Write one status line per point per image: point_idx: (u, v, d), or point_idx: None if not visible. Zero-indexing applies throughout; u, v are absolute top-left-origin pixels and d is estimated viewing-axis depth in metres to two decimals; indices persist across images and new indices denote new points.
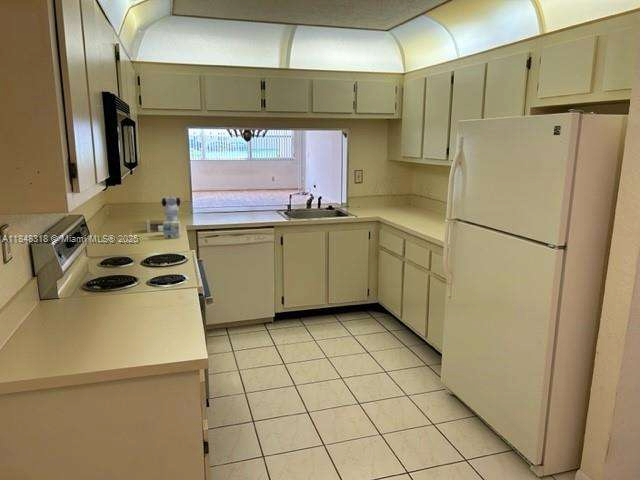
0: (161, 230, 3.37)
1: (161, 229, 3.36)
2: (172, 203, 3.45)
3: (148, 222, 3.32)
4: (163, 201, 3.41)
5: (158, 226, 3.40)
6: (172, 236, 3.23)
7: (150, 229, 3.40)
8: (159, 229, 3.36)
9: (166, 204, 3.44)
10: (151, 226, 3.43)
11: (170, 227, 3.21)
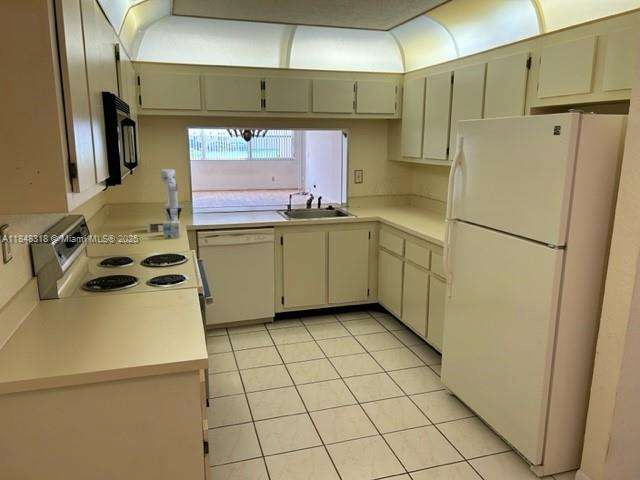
0: (161, 230, 3.37)
1: (161, 229, 3.36)
2: None
3: (148, 222, 3.32)
4: None
5: (158, 226, 3.40)
6: (172, 236, 3.23)
7: (150, 229, 3.40)
8: (159, 229, 3.36)
9: None
10: (151, 226, 3.43)
11: (170, 227, 3.21)
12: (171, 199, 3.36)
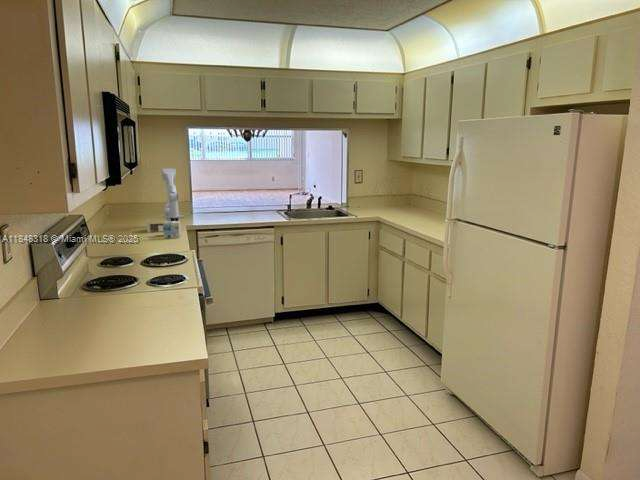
0: (161, 230, 3.37)
1: (161, 229, 3.36)
2: None
3: (148, 222, 3.32)
4: None
5: (158, 226, 3.40)
6: (172, 236, 3.23)
7: (150, 229, 3.40)
8: (159, 229, 3.36)
9: None
10: (151, 226, 3.43)
11: (170, 227, 3.21)
12: (172, 209, 3.37)
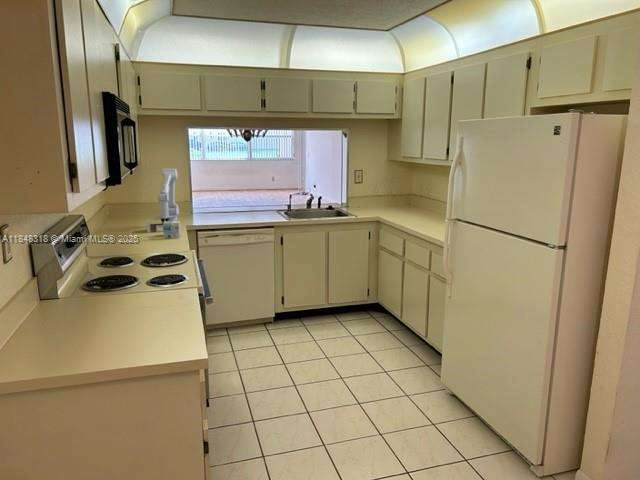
0: (160, 230, 3.36)
1: (159, 229, 3.36)
2: None
3: (148, 222, 3.32)
4: None
5: (156, 226, 3.39)
6: (172, 236, 3.23)
7: (150, 229, 3.40)
8: (157, 229, 3.35)
9: None
10: (151, 226, 3.43)
11: (170, 227, 3.21)
12: (161, 209, 3.36)
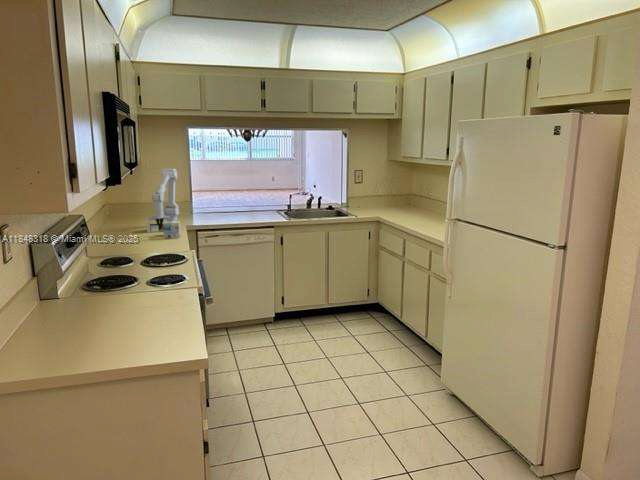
0: (154, 230, 3.35)
1: (154, 229, 3.35)
2: None
3: (148, 222, 3.32)
4: None
5: (151, 226, 3.38)
6: (172, 236, 3.23)
7: (150, 229, 3.40)
8: (152, 229, 3.34)
9: None
10: None
11: (170, 227, 3.21)
12: (155, 209, 3.35)
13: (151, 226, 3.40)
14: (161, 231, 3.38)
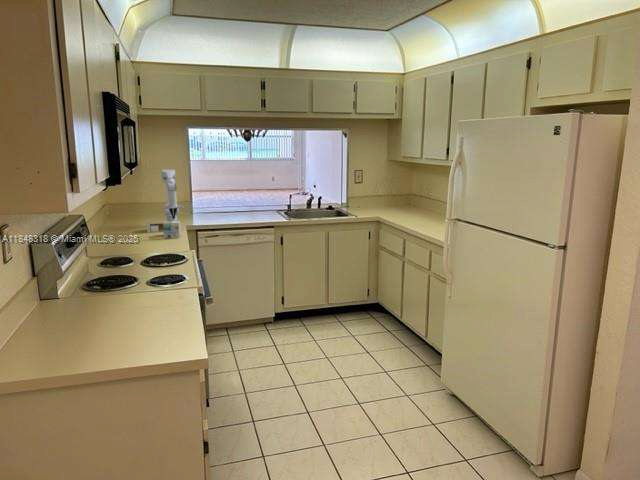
0: (154, 230, 3.35)
1: (154, 229, 3.35)
2: None
3: (148, 222, 3.32)
4: None
5: (151, 226, 3.38)
6: (172, 236, 3.23)
7: (150, 229, 3.40)
8: (152, 229, 3.34)
9: None
10: None
11: (170, 227, 3.21)
12: (170, 199, 3.37)
13: (151, 226, 3.40)
14: (161, 231, 3.38)
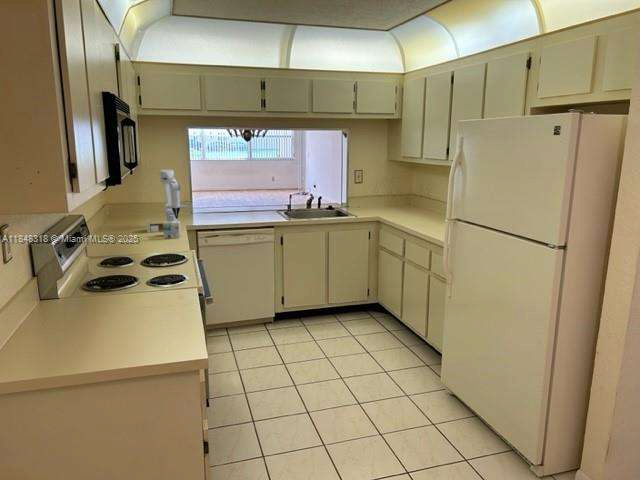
0: (154, 230, 3.35)
1: (154, 229, 3.35)
2: None
3: (148, 222, 3.32)
4: None
5: (151, 226, 3.38)
6: (172, 236, 3.23)
7: (150, 229, 3.40)
8: (152, 229, 3.34)
9: None
10: None
11: (170, 227, 3.21)
12: (174, 199, 3.38)
13: (151, 226, 3.40)
14: (161, 231, 3.38)
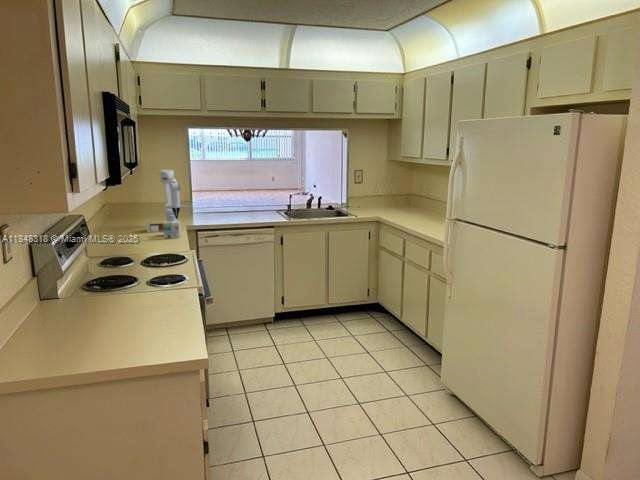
0: (154, 230, 3.35)
1: (154, 229, 3.35)
2: None
3: (148, 222, 3.32)
4: None
5: (151, 226, 3.38)
6: (172, 236, 3.23)
7: (150, 229, 3.40)
8: (152, 229, 3.34)
9: None
10: None
11: (170, 227, 3.21)
12: (174, 199, 3.38)
13: (151, 226, 3.40)
14: (161, 231, 3.38)
